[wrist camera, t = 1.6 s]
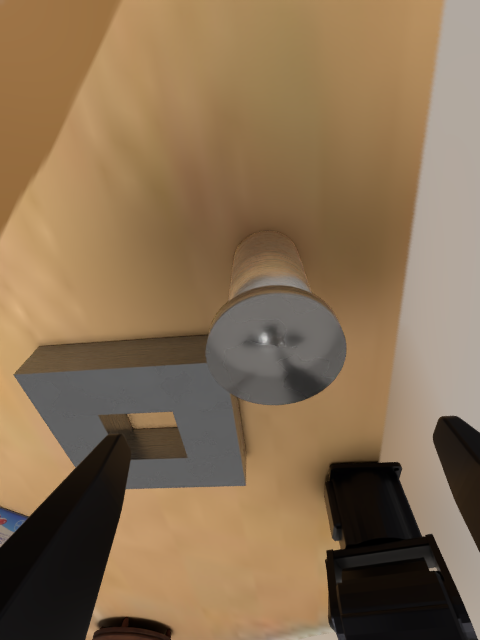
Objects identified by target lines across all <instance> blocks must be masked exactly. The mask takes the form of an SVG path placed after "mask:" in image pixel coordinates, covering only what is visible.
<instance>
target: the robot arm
mask: <svg viewBox="0 0 480 640" xmlns="http://www.w3.org/2000/svg"><path fill="white" fill-rule="evenodd" d="M433 442H434V445H435V448H436V451H437V453H438V456H439V459H440V461H441V464H442V467H443V470H444V473H445V475H446V478H447V481H448V483H449V486H450V489H451V491H452V494H453V497H454V499H455V502H456V504H457V506H458V508H459V510H460V512H461V514H462V516H463V519H464V521H465V523H466V525H467V527H468V529H469V531H470V533H471V535H472V537H473V539H474V541H475V543H476V545H477V548H478V550H479V552H480V432H478V431H477V430H475V429H474V428H473V427H471V426H470V425H469V424H467V423H466V422H465V421H463V420H462V419H461V418H459V417H457V416H442V417H440V418H439V419H438V422H437V425H436V428H435V430H434V433H433ZM130 461H131V449H130V447H129V445H128V443H127V441H126V439H125V437H124V435H123V434H121V433H118V434H109V435H107V436H106V437H105V438H104V439H103V440H102V441H101V442H100V443H99V444H98V445H97V446H96V447H95V448H94V449H93V450H92V451H91V452H90V453H89V454H88V455H87V457H86V458H85V459H84V460H83V461H82V462H81V463H80V464H79V465H78V466H77V467H76V468H75V469H74V470H73V471H72V472H71V473H70V474H69V475H68V476H67V478H66V479H65V480H64V481H63V482H62V483H61V484H60V485H59V486H58V487H57V488H56V489H55V490H54V491H53V492H52V493H51V494H50V495H49V496H48V497H47V499H46V500H45V501H44V502H43V503H42V504H41V505H40V506H39V507H38V508H37V509H36V510H35V511H34V512H33V513H32V514H31V515H30V516H29V517H28V518H27V520H26V521H25V522H24V523H23V524H22V525H21V526H20V527H19V528H18V529H17V530H16V531H15V532H14V533H13V534H12V535H11V536H10V537H9V538H8V539H7V541H6V542H5V543H4V544H3V545H2V546H1V547H0V640H85V639H86V635H87V632H88V628H89V624H90V621H91V617H92V614H93V610H94V607H95V603H96V600H97V596H98V593H99V589H100V586H101V582H102V579H103V575H104V571H105V568H106V564H107V561H108V557H109V554H110V550H111V547H112V543H113V540H114V536H115V533H116V529H117V525H118V522H119V518H120V514H121V511H122V506H123V501H124V495H125V489H126V484H127V478H128V472H129V467H130ZM401 471H402V467H401V465H400V463H398V462H387V463H356V464H333V465H331V466H330V469H329V481H326V483H325V491H324V498H325V503H326V508H327V514H328V519H329V524H330V530H331V535H332V538H333V539H334V541H339V543H340V548H341V549H340V550H334V551H333V549H332V550H327V559H326V560H325V563H326V569H327V580H328V591H329V597H328V620H329V625H330V627H331V628H332V629H333V630H334V631H335V632H336V634H337V637H338V640H478V639H477V636H476V634H475V631H474V628H473V626H472V623H471V621H470V618H469V616H468V614H467V611H466V609H465V606H464V604H463V601H462V599H461V597H460V595H459V592H458V590H457V588H456V585H455V583H454V581H453V579H452V577H451V574H450V572H449V570H448V568H447V566H446V563H445V561H444V559H443V557H442V554H441V552H440V550H439V548H438V546H437V544H436V541H435V539H434V537H433V535H432V534H428V535H425V537H422V535H421V533H420V530H419V528H418V525H417V523H416V520H415V518H414V515H413V513H412V510H411V508H410V505H409V503H408V500H407V498H406V496H405V493H404V490H403V488H402V485H401V483H400V480H399V477H400V474H401ZM434 567H436V568H437V571H429V568H434Z"/></svg>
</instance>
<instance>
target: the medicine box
mask: <svg viewBox="0 0 480 640" xmlns="http://www.w3.org/2000/svg"><path fill="white" fill-rule="evenodd" d="M27 518H28V517H27V516H25V515H22V514H19V513H16V512H13V511H10V510H7V509H4V508H1V507H0V547H1V546H2V545H3V544H4V543H5V542H6V541H7V539H8V538H9V537H10V536H11V535H12V534H13V533H14V532H15V531H16V530H17V529H18V528H19V527H20V526H21V525H22V524H23V523H24V522H25V521H26V520H27Z"/></svg>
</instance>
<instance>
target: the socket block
mask: <svg viewBox="0 0 480 640" xmlns="http://www.w3.org/2000/svg"><path fill="white" fill-rule="evenodd" d="M207 339H208V335H199V336H185V337H170V338H155V339H141V340H126V341H111V342H97V343H82V344H67V345H53V346H39V347H38V348H37V349H36V350H35V351H34V353H33V354H32V355H31V356H30V357H29V358H28V359H27V360H26V361H25V362H24V364H23V365H22V366H21V367H20V368H19V369H18V370H17V371H16V372H15V374H14V376H15V378H16V379H17V381H18V382H19V384H20V385H21V387H22V388H23V390H24V391H25V393H26V394H27V396H28V397H29V399H30V400H31V402H32V403H33V405H34V406H35V408H36V409H37V411H38V412H39V414H40V415H41V417H42V418H43V420H44V421H45V423H46V424H47V426H48V427H49V429H50V430H51V432H52V433H53V435H54V436H55V438H56V439H57V441H58V442H59V444H60V445H61V447H62V448H63V450H64V451H65V453H66V454H67V456H68V457H69V458H70V460H71V461H72V463H73V464H74V466H75V467H77V466H78V465H79V464H80V463H81V462H82V461H83V460H84V459H85V458H86V457H87V455H88V454H89V453H90V452H91V451H92V450H93V449H94V448H95V447H96V446H97V445H98V444H99V443H100V442H101V441H102V440H103V439H104V438H105V437H106V436H107V435H109V434H118V433H121V434H123V435H124V437H125V439H126V441H127V443H128V445H129V447H130V449H131V461H130V467H129V472H128V478H127V484H126V489H144V488H181V487H217V486H246V448H245V442H244V436H243V429H242V423H241V416H240V410H239V404H238V397H236V396H234V395H232V394H231V393H229V392H228V391H226V390H225V389H224V388H223V387H221V386H220V385H219V384H218V382H217V381H216V380H215V379H214V377H213V376H212V374H211V372H210V370H209V368H208V365H207V361H206V344H207ZM172 411H173V414H174V417H175V420H176V423H177V426H178V427H177V428H154V429H133V428H132V426H131V424H130V421H129V419H128V417H127V415H126V414H130V413H151V412H172Z"/></svg>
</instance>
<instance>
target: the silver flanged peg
mask: <svg viewBox="0 0 480 640" xmlns="http://www.w3.org/2000/svg"><path fill="white" fill-rule="evenodd" d="M345 357H346V340H345V336H344V333H343V331H342V328H341V326H340V323H339V321H338V319H337V317H336V315H335V313H334V312H333V310H332V309H331V308H330V306H329V305H328V304H326V303H325V302H324V301H323V300H322V299H321V298H319V297H318V296H316V295H314V294H312V292H311V289H310V286H309V283H308V280H307V277H306V274H305V271H304V268H303V265H302V262H301V259H300V256H299V253H298V250H297V248H296V246H295V244H294V243H293V242H292V241H291V240H290V239H289V238H288V237H287V236H285V235H283V234H282V233H279V232H276V231H259V232H256V233H253V234H251V235H249V236H248V237H246V238H245V239H244V240H243V241H242V242H241V243H240V244H239V246H238V247H237V249H236V251H235V254H234V258H233V266H232V274H231V282H230V290H229V298H228V302H227V303H226V304H225V305H224V306H223V307H222V308H221V309H220V310H219V311H218V313H217V314H216V316H215V317H214V319H213V321H212V323H211V326H210V329H209V334H208V339H207V344H206V361H207V365H208V368H209V370H210V372H211V374H212V376H213V377H214V379H215V380H216V381H217V382H218V384H219V385H220V386H221V387H223V388H224V389H225V390H226V391H228V392H229V393H231V394H232V395H234V396H236V397H238V398H240V399H243V400H245V401H249V402H252V403H257V404H263V405H284V404H290V403H295V402H299V401H302V400H305V399H307V398H310V397H312V396H314V395H316V394H318V393H319V392H321V391H322V390H324V389H325V388H326V387H327V386H329V385H330V384H331V383H332V382H333V381H334V379H335V378H336V377H337V375H338V374H339V372H340V371H341V369H342V367H343V364H344V361H345Z"/></svg>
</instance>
